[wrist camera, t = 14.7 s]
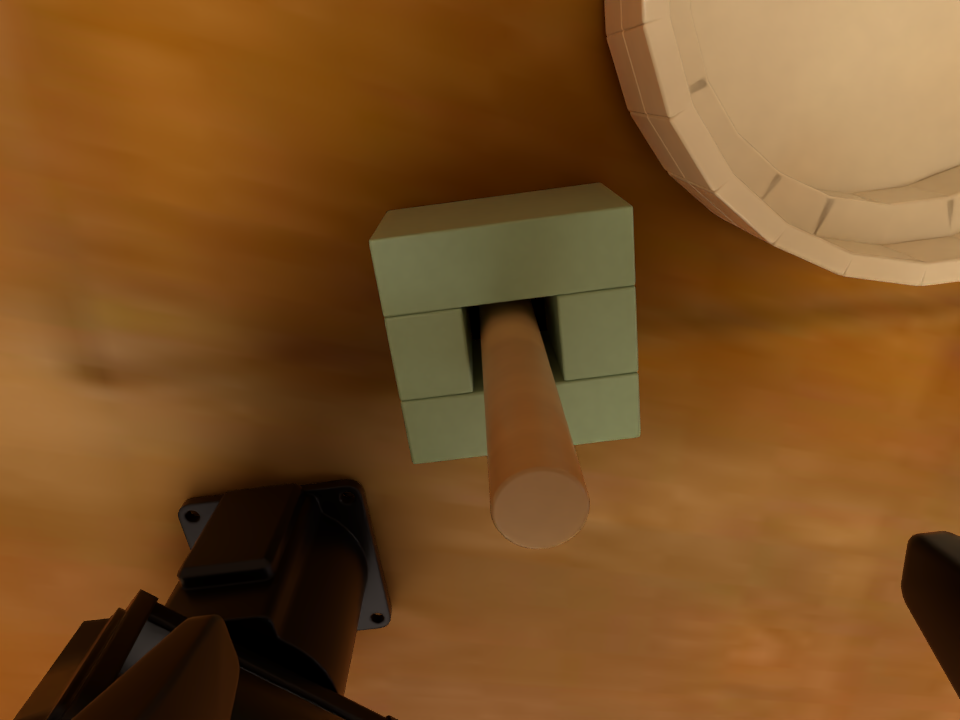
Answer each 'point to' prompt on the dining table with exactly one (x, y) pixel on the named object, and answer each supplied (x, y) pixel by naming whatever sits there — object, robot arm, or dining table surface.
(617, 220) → the stand
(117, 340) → the dining table surface
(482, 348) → the stick
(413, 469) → the dining table surface
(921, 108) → the bowl
